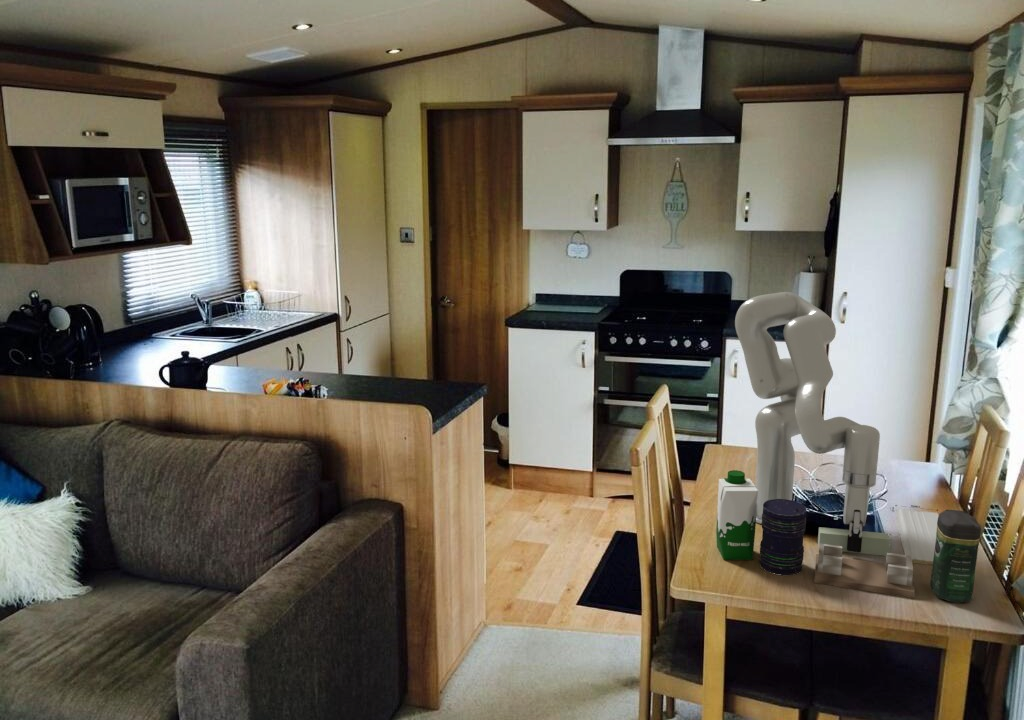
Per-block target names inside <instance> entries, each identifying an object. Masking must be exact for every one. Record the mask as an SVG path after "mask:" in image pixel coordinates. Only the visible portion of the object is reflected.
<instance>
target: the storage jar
mask: <svg viewBox="0 0 1024 720" xmlns="http://www.w3.org/2000/svg"><path fill="white" fill-rule="evenodd" d="M760 525H761V528H762V535H761V536H762V537H761V541H760V544H759V547H760V548H759V567H760V568H761V567H762V568H763V569H762V568H761V569H762V570H764V569H765V570H766V571H765V570H764V571H765V572H767V571H768V573H769V572H771V573H770V574H772V573H775V574H774V575H776V574H781V575H780V576H783V575H790V576H794V575H793V574H796V575H798V574H800V573H801V572H802V571H803V561H804V552H805V547H804V536H805V535H804V534H805V533H806V525H807V507H806V506H805V505H804V504H802V503H801V502H799V501H796V500H793V499H792V500H787V499H772V500H768V501H766V502H764V504H763V514H762V523H761V524H760ZM799 572H800V573H799ZM797 573H798V574H797Z"/></svg>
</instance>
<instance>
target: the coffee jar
mask: <svg viewBox="0 0 1024 720" xmlns="http://www.w3.org/2000/svg"><path fill="white" fill-rule="evenodd" d="M938 515H939V517H938V521H937V532H936V543H935V551H934V558H933V565H931V566H932V568H931V571H930V572H931V574H930V581H929V582H930V588H931V590H932V592H933V594H934V595H935V597H938V598H939V599H941V600H945V601H949V602H950V603H954V604H955V603H957V604H958V603H959V604H960V603H967V602H971V601H972V599H973V594H974V593H973V592H974V586H975V585H974V584H975V574H976V567H977V562H978V561H977V560H978V551H979V545H980V539H981V529H982V528H981V525H980V523H979V522H978V521H977V520H976V518H975V517H974V516H972V515H970V514H969V513H967V511H965V510H960V509H959V510H958V509H957V510H956V509H948V508H947V509H945V510H943V511H941V512H940V513H938Z"/></svg>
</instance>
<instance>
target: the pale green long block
mask: <svg viewBox="0 0 1024 720" xmlns="http://www.w3.org/2000/svg"><path fill="white" fill-rule="evenodd" d="M848 535H849V530H847V529H846V528H845V529H843V528H834V527H832V528H831V527H820V526H819V527H818V535H817V546H818V548H819V544H820V543H821V544H828V545H836V546H842V552H845V553H846V552H847V553H855V554H865V555H866V554H868V555H875V556H885V557H887V553H890V549H891V537H890V535H889V533H886V532H874V531H864V530H862V535H861V536H862V545H861V552H853V551H847V539H848Z"/></svg>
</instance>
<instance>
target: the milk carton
mask: <svg viewBox="0 0 1024 720" xmlns="http://www.w3.org/2000/svg"><path fill="white" fill-rule="evenodd" d="M745 477H746V474H745V472H744V471H742V470H735V469H732V470H729V471H728V472H727V477H724V478H718V490H717V491H718V494H717V508H716V510H717V512H716V513H717V514H716V528H715V529H716V531H715V532H716V548H717V549H718V552H719V553H720V555H721V557H722V560H724V561H738V560H740V561H745V560H747V561H748V560H751V561H753V556H754V550H755V549H754V548H755V540H756V539H755V538H756V537H755V536H756V524H757V522H756V510H757V496H758V490H757V489H756V486H755V485H756V484H754V482H753V481H752V480H751V478H745Z"/></svg>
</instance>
